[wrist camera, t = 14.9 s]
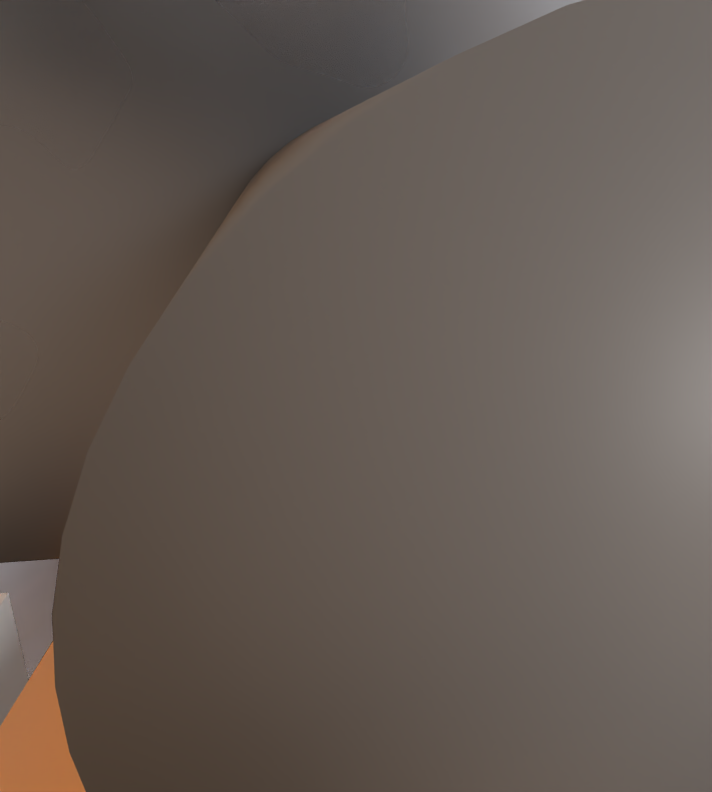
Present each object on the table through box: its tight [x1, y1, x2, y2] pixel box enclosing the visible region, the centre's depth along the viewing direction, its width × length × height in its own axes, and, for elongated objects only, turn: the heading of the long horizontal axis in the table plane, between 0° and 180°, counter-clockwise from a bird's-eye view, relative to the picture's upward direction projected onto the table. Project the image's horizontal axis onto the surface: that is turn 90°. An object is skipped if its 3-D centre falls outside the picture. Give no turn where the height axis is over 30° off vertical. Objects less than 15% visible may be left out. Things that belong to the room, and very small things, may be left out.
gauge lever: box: [0, 0, 712, 792], centre depth 3 cm, size 2×6×3 cm, turn 146°
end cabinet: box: [0, 0, 583, 563], centre depth 8 cm, size 4×8×8 cm, turn 90°
